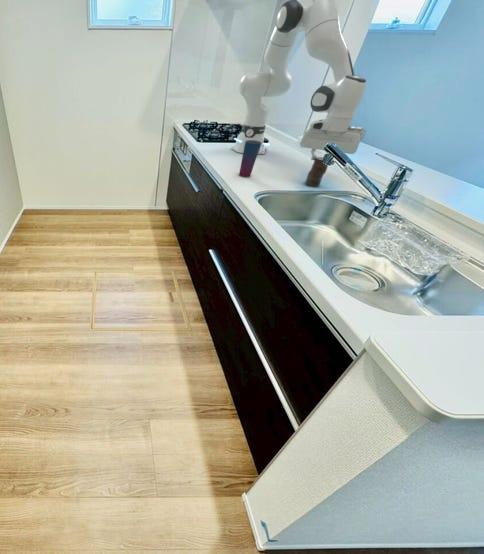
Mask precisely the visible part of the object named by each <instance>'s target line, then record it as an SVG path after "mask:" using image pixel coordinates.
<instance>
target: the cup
mask: <svg viewBox="0 0 484 554" xmlns="http://www.w3.org/2000/svg"><path fill="white" fill-rule="evenodd" d="M261 143H262V142H260V141H256V140H246V141H245V146H244V151H243V153H242V156H241V162H240V168H239V173H238V176H240V177H242V178H251V175H252V171H253V169H254V166H255V163H256V161H257V157H258V155H259V154H258V152H259V149H260V146H261Z"/></svg>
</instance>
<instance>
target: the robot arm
mask: <svg viewBox="0 0 484 554" xmlns="http://www.w3.org/2000/svg"><path fill="white" fill-rule="evenodd" d="M340 26H341V25H340V16H339V12H338V7H337V4H336V1H335V0H287V1H285V2H284V3H283V4H281V6H280V8H279V9H278V11H277V14H276V18H275V27H274V29H273V31H272V33H271V35H270V38H269V41H268V44H267V46H266V49H265V51H264V54H263V61H264V63H265V64H266V65H267V67H269V68H270V70H269V71H253V72H252V71H251V72H248V73H245V74H244V75H243V76H242V77H241V79H240V81H239V84H238V90H239V93H240V94H241V96H242V97H243V99H244V101H245V103H246V113H245V118H244V123H243V124H242V127H241V132H240V133H238V135H237V137H234V140H235V144H234V146H232V147H231V150H233V151H234V152H236V153H239V154H243V151H244V146H245V141H246V140H256V141H260V142H262V143H261V146H260V149H259V152H258V155H264V154H265V152H266V149H267V147H266V146H269V147H270V143H266V142H264V141H265V131H266V123H267V120H268V117H269V111H270V110H269V108H268V106H267V105H266V104H264V103H263V102H262V98H263V97H265V98H266V97H268V98H272V97H273V98H275V97H276V98H277V97H281V96H284V95H286V94H287V93H288V92H289V91H290V89H291V86H292V84H293V79H292V75H291V74H290V73H289V70H288V61H289V58H290V55H291V53H292V49H293V48H294V46H295V43H296V40H297V37H298V35H299V33H302V32H304V37H305V48H306V51H307V53H308V55H309V56H310V57H311V58H313V59H315V60H318V61H321V62H323V63H325V64H326V65H327V66H329V67H330V68H331V70H332V73H333V77H334V78H333V79H334V82H331V83H328V84H324V85H321V86H319V87H318V88H317V89H316V90H315V91H314V92H313V93H312V95H311V99H310V108H311V110H312V111H313V112H315V113H327V115H326V116H325V118H324V119H323V118H322V119H319V120H318V119H317V120H314V121H312V122H311V123H310V125H309V128H308V129H306V131H305V132H304V134H303V136H302V138H301V139H300V143H299V146H300V148H304V149H305V148H306V149H311V150H310V153H311V158H310V160H311V161H313V162H314V161H315V158H316V157H317V155H315V152H316V151H317V150H320V151H325V150H324V146H325V145H326V144H327V143H329V142H333V143H334V144H336V145H337V146H338V147H339V148H340V149H341V150H342V151H343V152H344V153H343V154H349V155H353V154H355V153H356V152H357V151H358V148H359V145H360V142H361V141H362V140H364V138H365V136H366V134H367V131H366V130H365V129H364V128H363V127H356V126H351V125H352V122H353V120H354V117H355V112H356V110H357V108H358V107H359V105H360V104H361V102H362V99H363V96H364V94H365V91H366V87H367V79H366V78H365V77H364V76H361V75H355V71H354V66H353V61H352V58H351V53H350V50H349V47H348V45H347V44H346V42H345V40H344V37H343V35H342V31H341V27H340Z"/></svg>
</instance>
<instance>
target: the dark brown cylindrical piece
mask: <svg viewBox="0 0 484 554" xmlns="http://www.w3.org/2000/svg"><path fill="white" fill-rule="evenodd" d="M328 168H329V165H327V167H317V166H314V165H313V164H312V165H311V168H310V170H308V173H307V175H306V179H305V182H304V185H305V186H307V187H311V188H319V187H320V185H321V183H322V180H323V177H324V175H325V174H326V172H327V171H328V170H327V169H328Z"/></svg>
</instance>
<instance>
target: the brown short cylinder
mask: <svg viewBox="0 0 484 554" xmlns="http://www.w3.org/2000/svg"><path fill="white" fill-rule="evenodd" d="M323 157H324V156H316V158H315V161H314V160H313V164H312V165H314V166H317V167H327V166H328V165H325V164H323V163H322V160H323ZM327 168H328V167H327Z"/></svg>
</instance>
